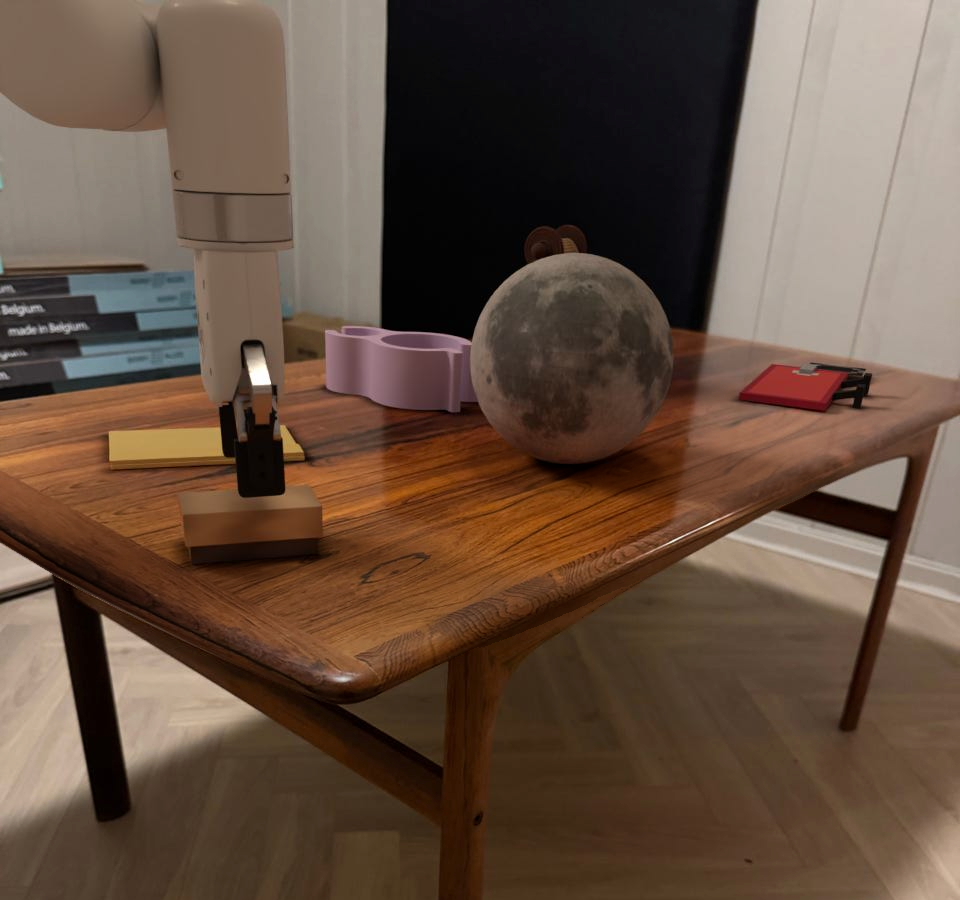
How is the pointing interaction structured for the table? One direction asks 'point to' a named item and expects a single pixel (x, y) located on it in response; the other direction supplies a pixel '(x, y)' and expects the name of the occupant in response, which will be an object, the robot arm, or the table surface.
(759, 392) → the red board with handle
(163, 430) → the flat yellow board
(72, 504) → the table surface
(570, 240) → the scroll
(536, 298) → the moon model
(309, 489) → the brush
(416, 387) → the pink curved hollow block
